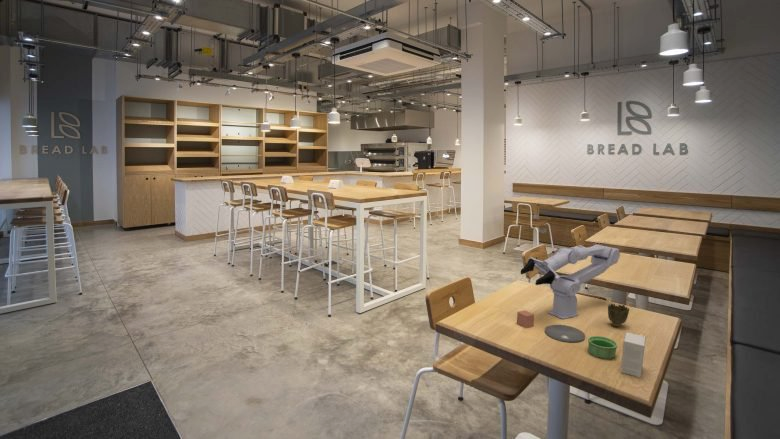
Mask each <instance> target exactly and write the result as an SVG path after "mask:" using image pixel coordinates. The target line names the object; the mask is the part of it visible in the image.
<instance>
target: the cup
mask: <svg viewBox="0 0 780 439" xmlns="http://www.w3.org/2000/svg"><path fill="white" fill-rule="evenodd" d="M629 313H630V308H628V306H626V305H625V304H624V305H623V304H618V305H616V304H615V303H610V304H608V305H607V317H608V319H609V321H610V322H611V325H612V326H613V327H614V328H621V327H623V324H625V323H626V322H627V320H628V317H629Z"/></svg>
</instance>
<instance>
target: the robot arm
mask: <svg viewBox="0 0 780 439" xmlns="http://www.w3.org/2000/svg"><path fill="white" fill-rule="evenodd" d="M620 252H621V251H620V249H619V248H617V247H611V246H606V245H601V244H594V245H593V246H588V247H585V246H583V245H582V244H579V245H577V246H575V247H573V246H572V247H570V248H567V247H560V248H559V249H558V250H557V252H556V253H554V255H552V256H550V257H548V258H546V259H544V260H539V259H537V258H535V257H532V256H530V258H528V260H527V262H526V264H525V265H524V266H523V268H522V269H520V274H521V275H524V274H526V273H528V272H533V271H534V268H536V269H537V271H539V273H540V274H541V275H542V276H540V277H539V278H537V279H536V280H535V285H536V286H539V285H549V288H550V290H552V294H553V301H552V310H549V311H547V313H548V314H550V315H552V316H555V317H557V318H559V319H561V320H565V319H568V318H572V317H576V316H579V314H578V313H577V310H578V309H577V308H578V299H577V295H576V294H577V293H578V292H579V291H580V290H581V286H582V284H585V283H587V282H589V281H591V280H592V279H594V278H596V277H598V276H601V275H602V274H604V273H605V272H606V271H607V270H608V269H609V268H610V267H612V266H614V265H615V264H618V262H619V260H620V255H621V253H620ZM590 256H591V258H590V263H591V264H589V265H587V266H585V267H582V268H581V269H579V270H576V271H575V272H573V273H571V274H569V275H559V274H558V273H557V272H556V271H558V270H561V268H564V267H566V265H568V264H571V265H575V264H576V263H577V262H579V261H584V260H586V259H587V258H589V257H590Z"/></svg>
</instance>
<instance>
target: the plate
mask: <svg viewBox="0 0 780 439" xmlns="http://www.w3.org/2000/svg"><path fill="white" fill-rule="evenodd" d="M544 333H545V334H546V336H547V337H549V338H551V339H552V340H555V341H559V342H563V343H571V344H573V343H581V342H584V341H585V339H586V334H585V333H584V332H583V331H582V330H580V329H579V328H576V327H573V326H570V325H565V324H550V325H548V326H546V327H545V328H544Z"/></svg>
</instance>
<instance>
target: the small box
mask: <svg viewBox="0 0 780 439" xmlns="http://www.w3.org/2000/svg"><path fill="white" fill-rule="evenodd" d="M646 338H647V336H645V335H640V334H636V333H631V332H625V335H624V339H623V346H622V356H621V363H620V364H621V366H620V373H622V372H623V373H622V374H626V373H627V374H626V375H629V374H631V375H630V376H633V375H635V376H634V377H637V376H639V377H638V378H641V377H642V370H643V363H644V357H645V356H644V355H645V347H646V341H647V340H646Z"/></svg>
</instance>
